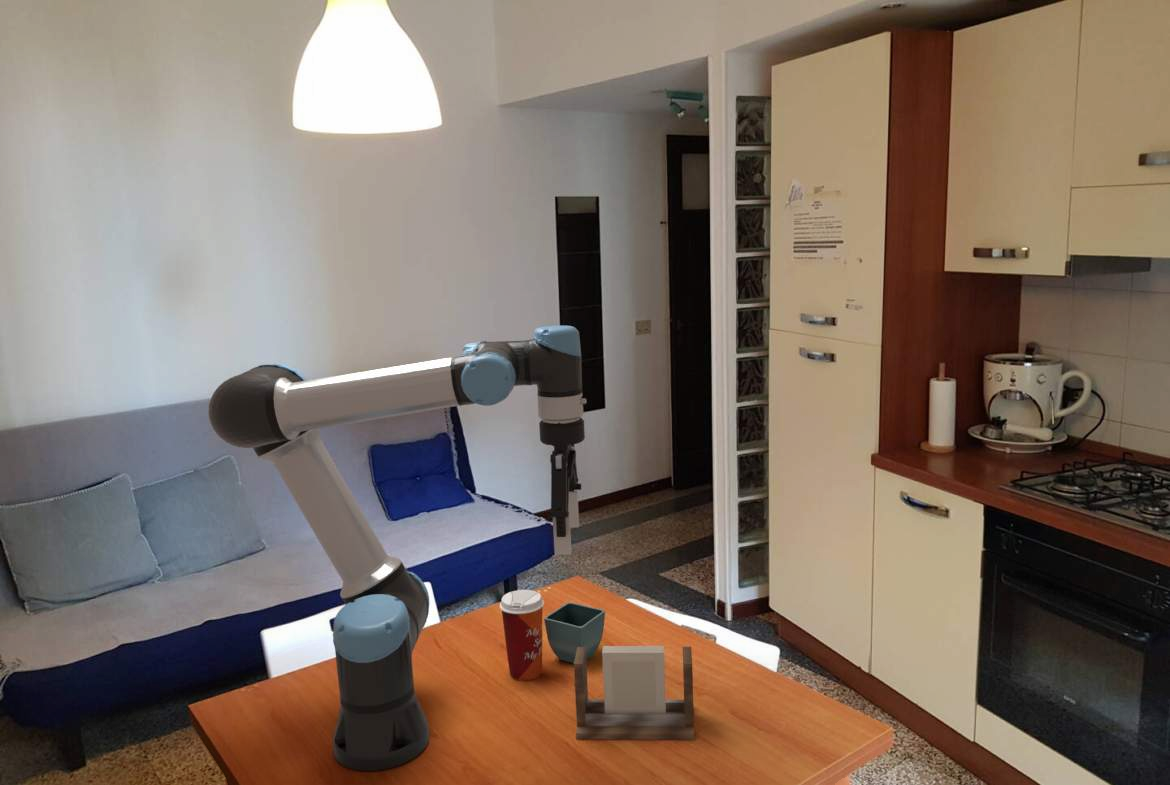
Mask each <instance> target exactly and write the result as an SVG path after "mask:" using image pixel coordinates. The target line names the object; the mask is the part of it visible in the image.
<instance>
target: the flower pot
mask: <svg viewBox="0 0 1170 785" xmlns="http://www.w3.org/2000/svg"><path fill="white" fill-rule="evenodd" d="M605 618H606V610H605V609H601V608H596V607H593V606H588V605H584V604H580V603H576V602H571V601H570V602H569V601H568V602H566V603H564V604H563V605H561V606H560V607H558V608H557V609H556V610H554V611H552V612H551V613H549V614H548V615H546V616H545V617H544V618H543V620H544V626H545V633H546V638H547V641H548V644H549V647H550V648H551V650H552V652H553V654H554V655H555V656H556V657H557V658H558V659H559V660H561V661H564V662H568V663H572V664H574V661H575V656H576V651H577V647H586V661H587V660H589V659H590V658H591V657H594V655H595V653H596V651H598V650H597V649H598V648H599V646H600V644H601V641H602V638H603V635H604V628H605Z"/></svg>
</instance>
